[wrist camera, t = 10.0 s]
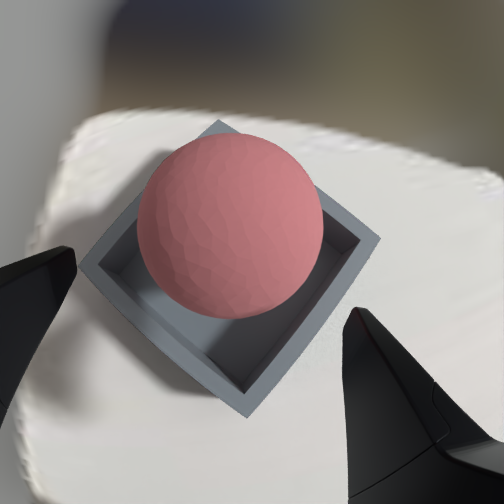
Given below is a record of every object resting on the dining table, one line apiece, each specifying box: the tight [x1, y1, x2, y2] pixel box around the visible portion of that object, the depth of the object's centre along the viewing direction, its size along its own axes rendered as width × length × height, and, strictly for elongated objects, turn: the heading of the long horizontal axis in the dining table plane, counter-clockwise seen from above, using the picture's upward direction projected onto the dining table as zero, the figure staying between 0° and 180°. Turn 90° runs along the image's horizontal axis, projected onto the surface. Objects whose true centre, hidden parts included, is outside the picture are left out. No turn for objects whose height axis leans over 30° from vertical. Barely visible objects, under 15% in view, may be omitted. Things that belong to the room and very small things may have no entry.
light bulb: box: [137, 133, 323, 319], centre depth 14 cm, size 7×7×12 cm
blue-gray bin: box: [78, 119, 381, 418], centre depth 19 cm, size 13×13×4 cm
